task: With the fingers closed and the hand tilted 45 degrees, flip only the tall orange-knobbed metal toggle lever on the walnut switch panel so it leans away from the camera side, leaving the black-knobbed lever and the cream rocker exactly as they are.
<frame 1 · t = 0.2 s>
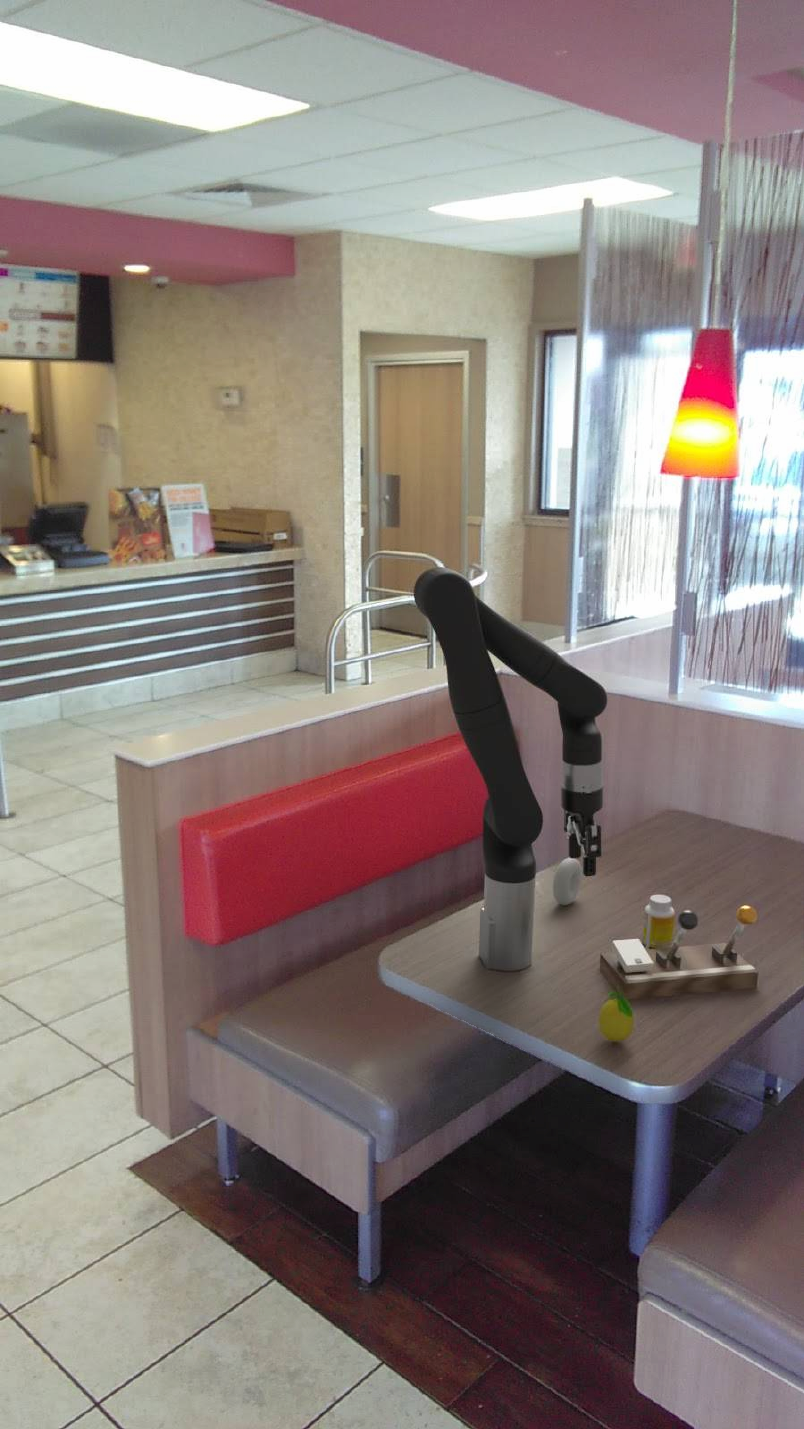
hand: (582, 866, 208), 18 cm above the table, tool pointing down, fingers open, 8 cm apart
supplement bottle: (656, 949, 215), on the table
lever orange: (737, 932, 200), point 10 cm above the table, hinge at -30.0°
rocker: (632, 955, 201), point 5 cm above the table, hinge at 12.0°
panel: (676, 977, 204), on the table
lemon: (615, 1043, 182), on the table
donut: (566, 904, 235), on the table
lever black: (679, 936, 197), point 10 cm above the table, hinge at -30.0°
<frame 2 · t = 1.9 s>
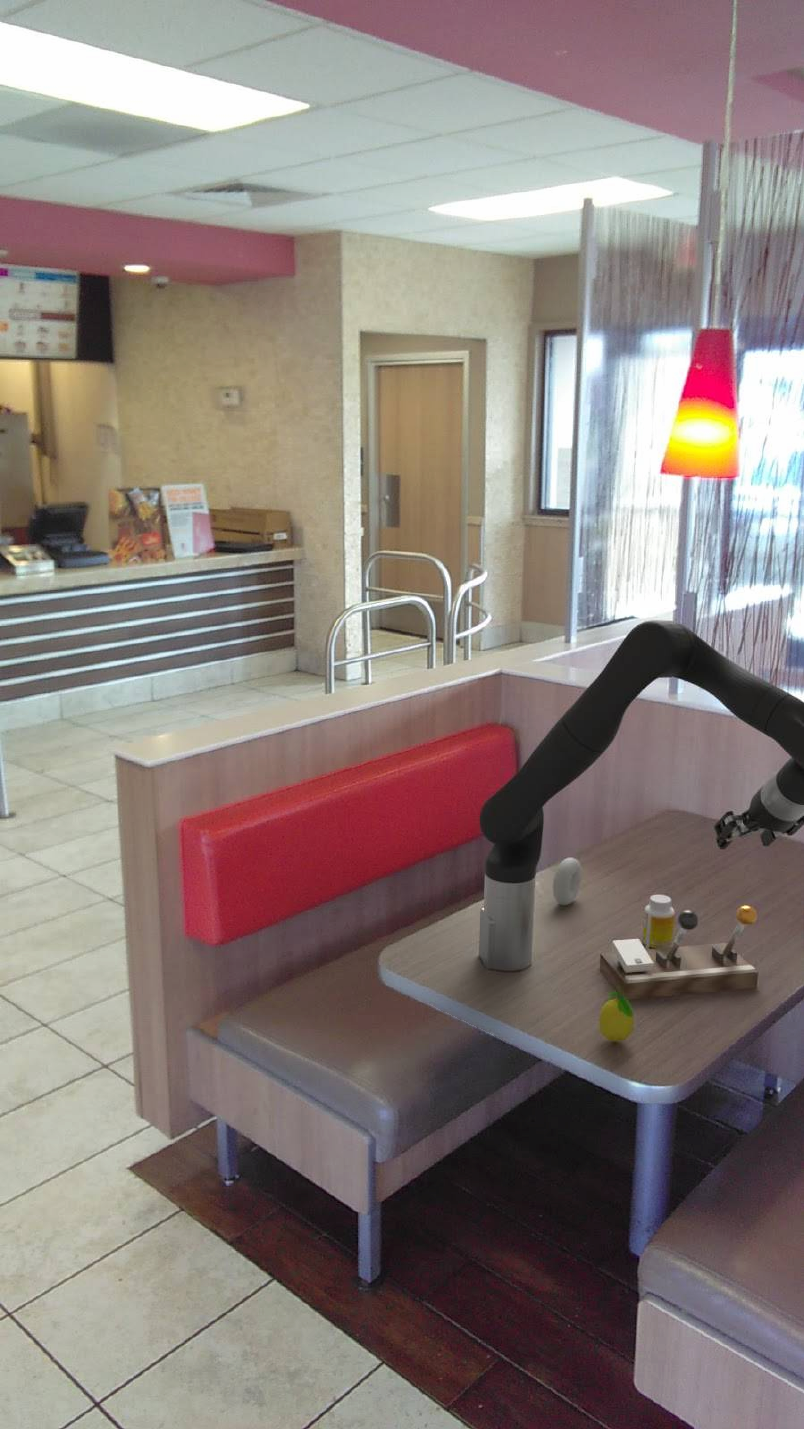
hand: (742, 842, 190), 29 cm above the table, tool tilted 45°, fingers open, 7 cm apart
nothing on the table moved.
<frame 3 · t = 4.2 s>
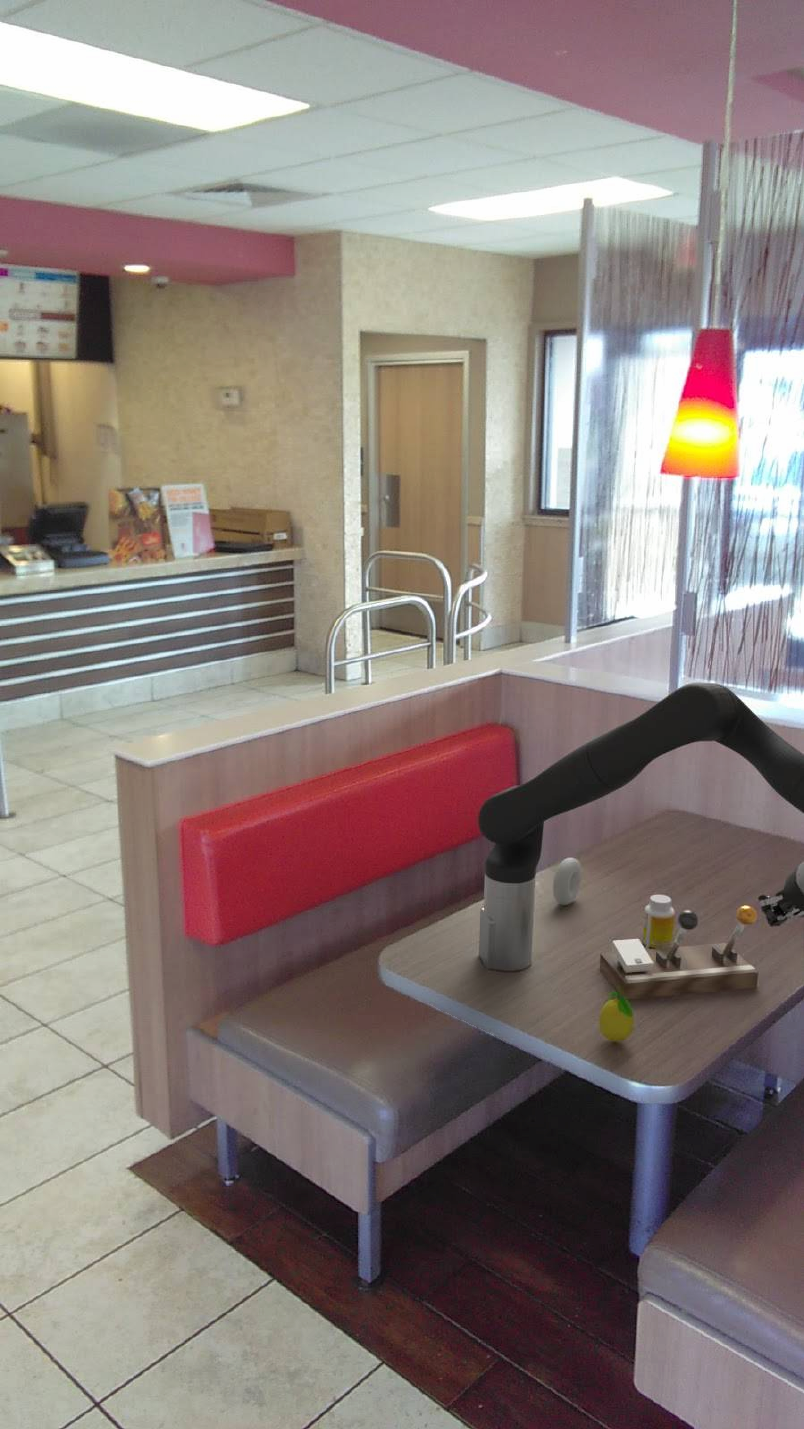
hand: (772, 920, 187), 17 cm above the table, tool tilted 45°, fingers closed
nothing on the table moved.
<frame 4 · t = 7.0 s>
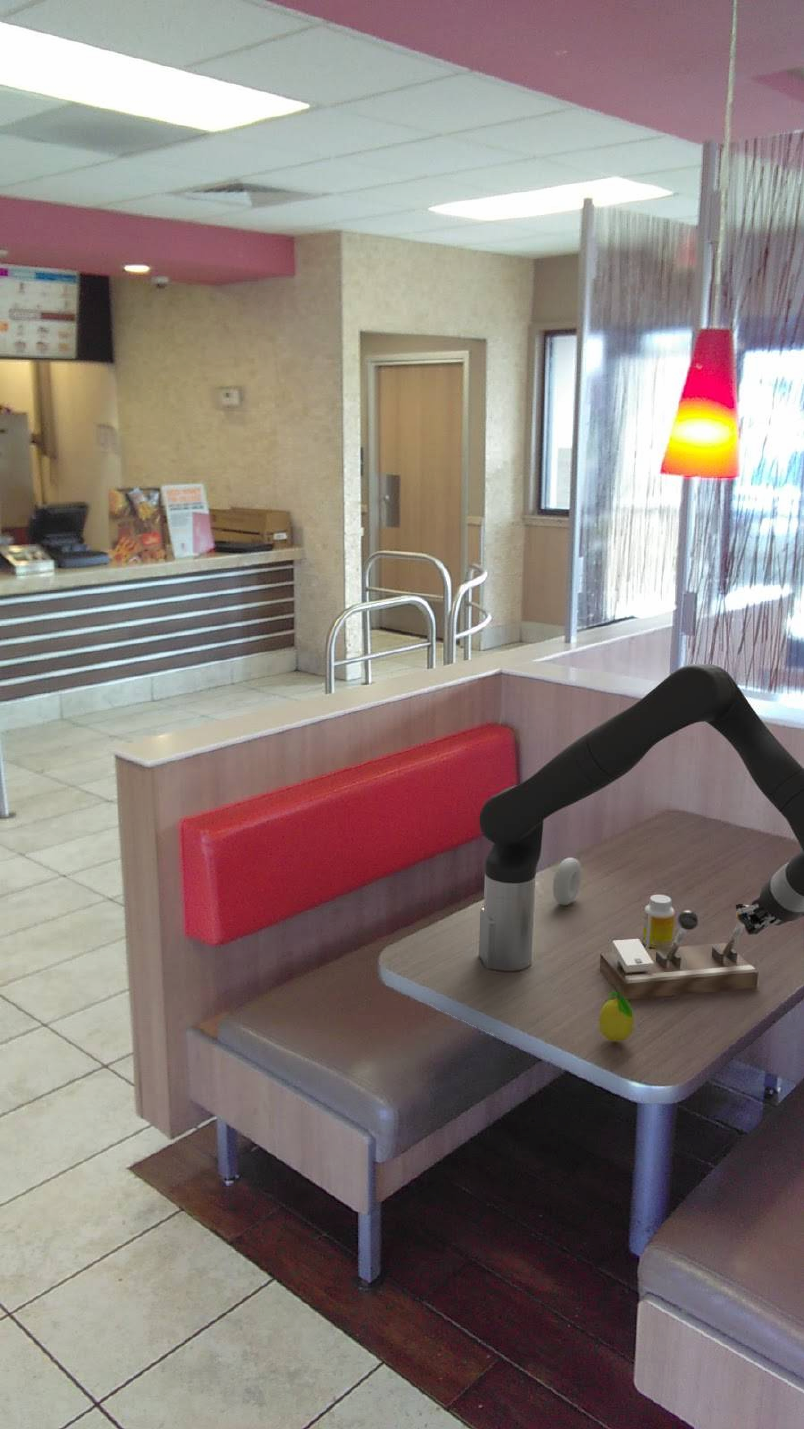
hand: (750, 929, 195), 13 cm above the table, tool tilted 45°, fingers closed
lever orange: (737, 931, 200), point 10 cm above the table, hinge at -29.4°, touching gripper
everything else where it was.
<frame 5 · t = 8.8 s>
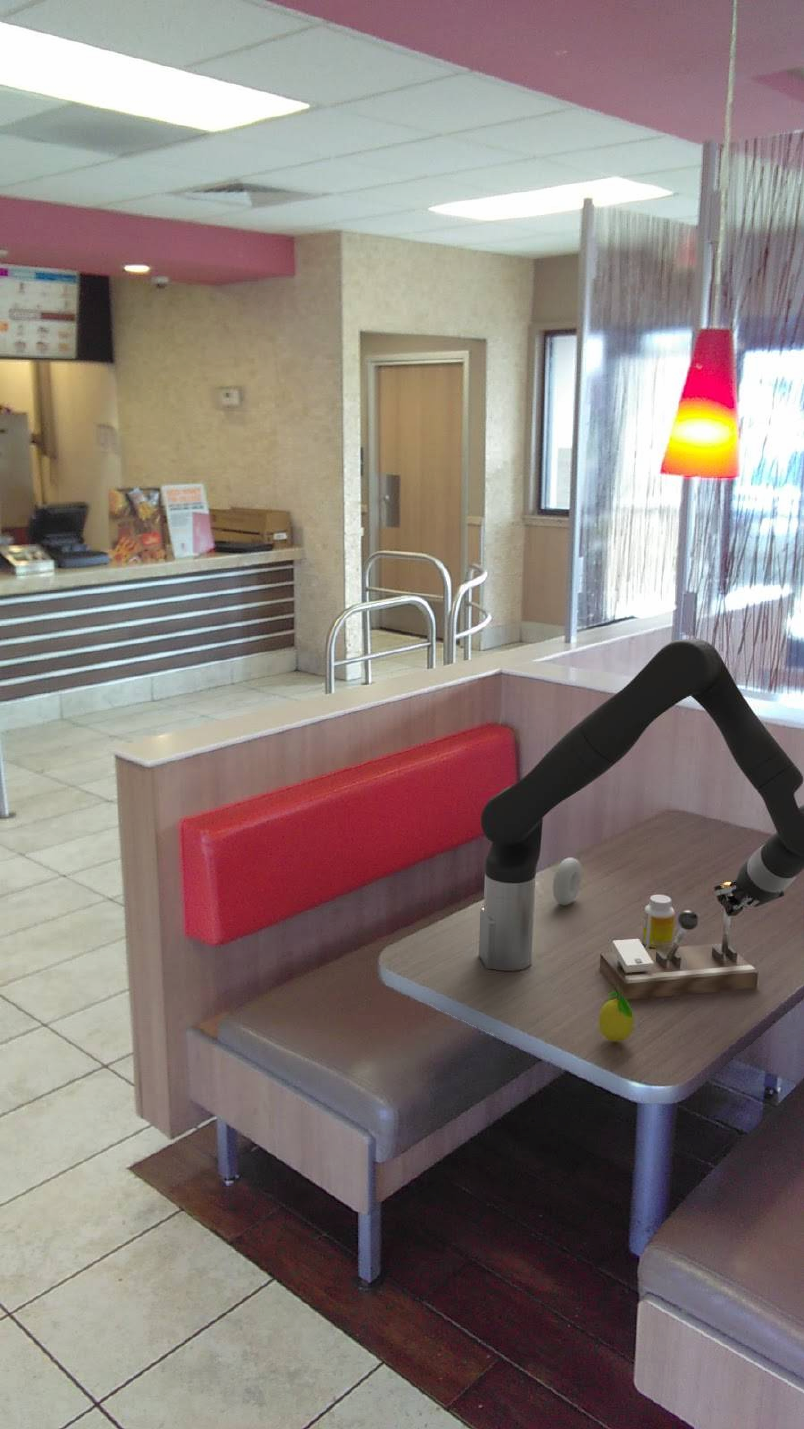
hand: (729, 910, 202), 13 cm above the table, tool tilted 45°, fingers closed
lever orange: (727, 917, 203), point 11 cm above the table, hinge at 2.2°, touching gripper
everything else where it was.
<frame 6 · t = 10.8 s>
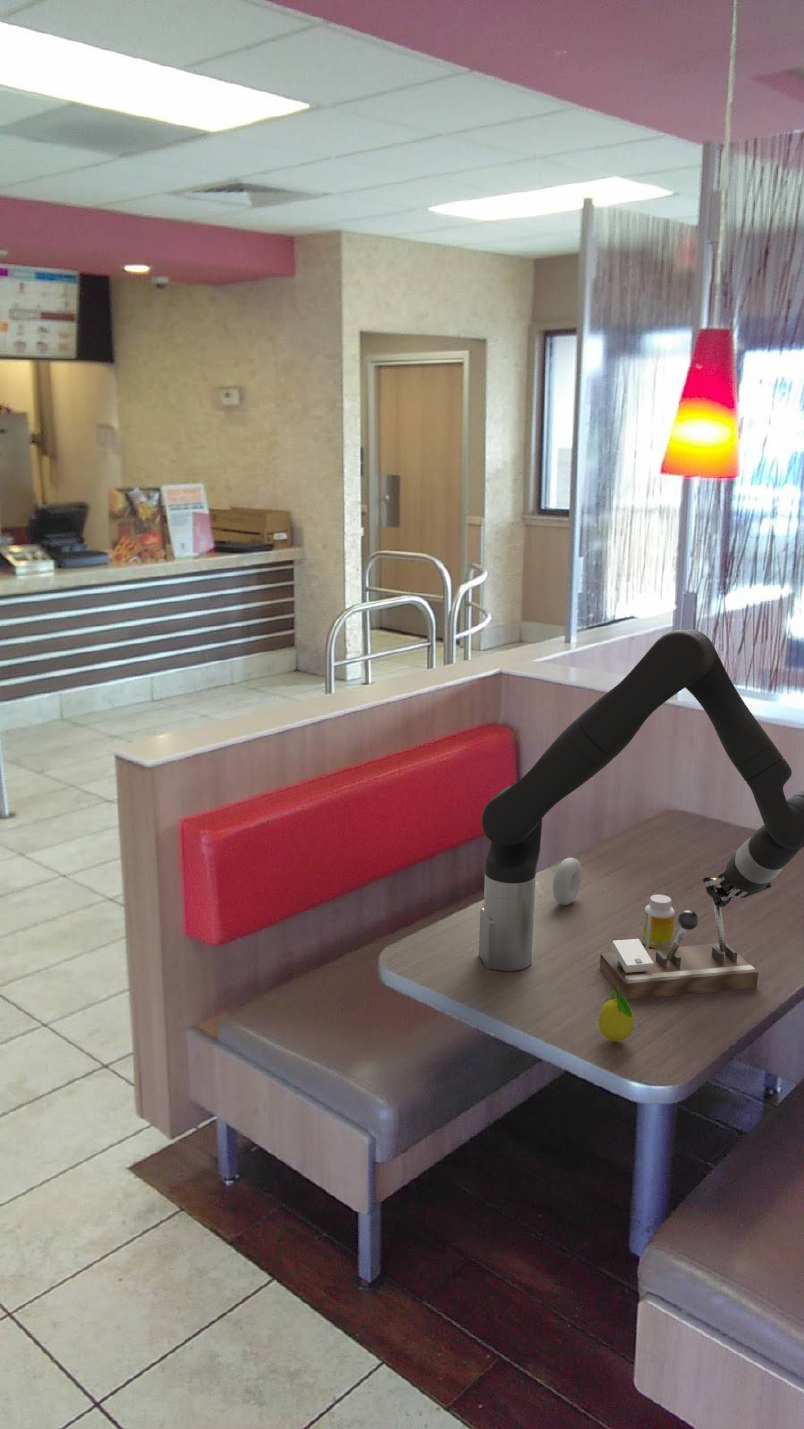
hand: (718, 902, 206), 12 cm above the table, tool tilted 45°, fingers closed
lever orange: (718, 914, 206), point 10 cm above the table, hinge at 27.6°, touching gripper
everything else where it was.
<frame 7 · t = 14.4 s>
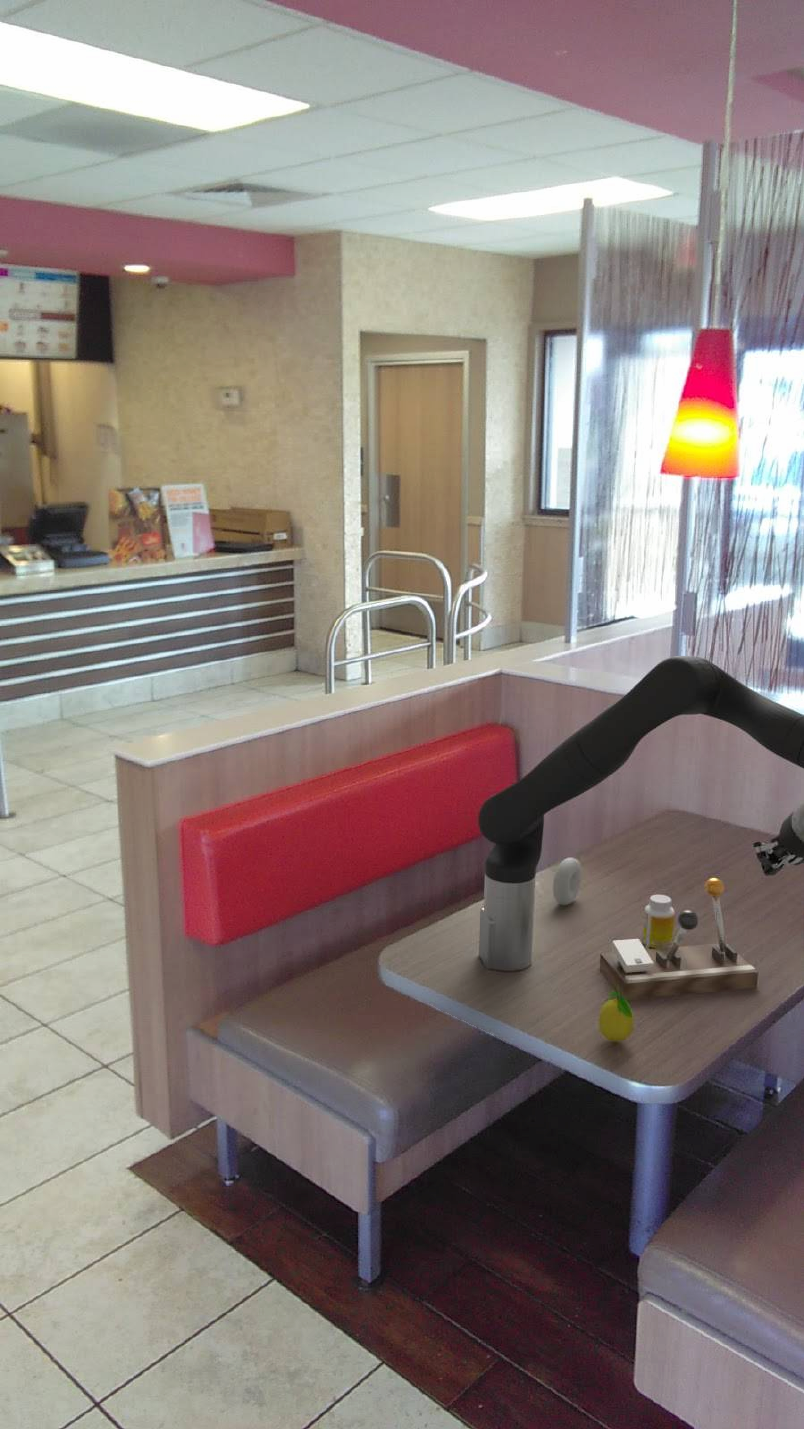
hand: (767, 870, 186), 26 cm above the table, tool tilted 45°, fingers closed
lever orange: (718, 914, 206), point 10 cm above the table, hinge at 28.0°
everything else where it was.
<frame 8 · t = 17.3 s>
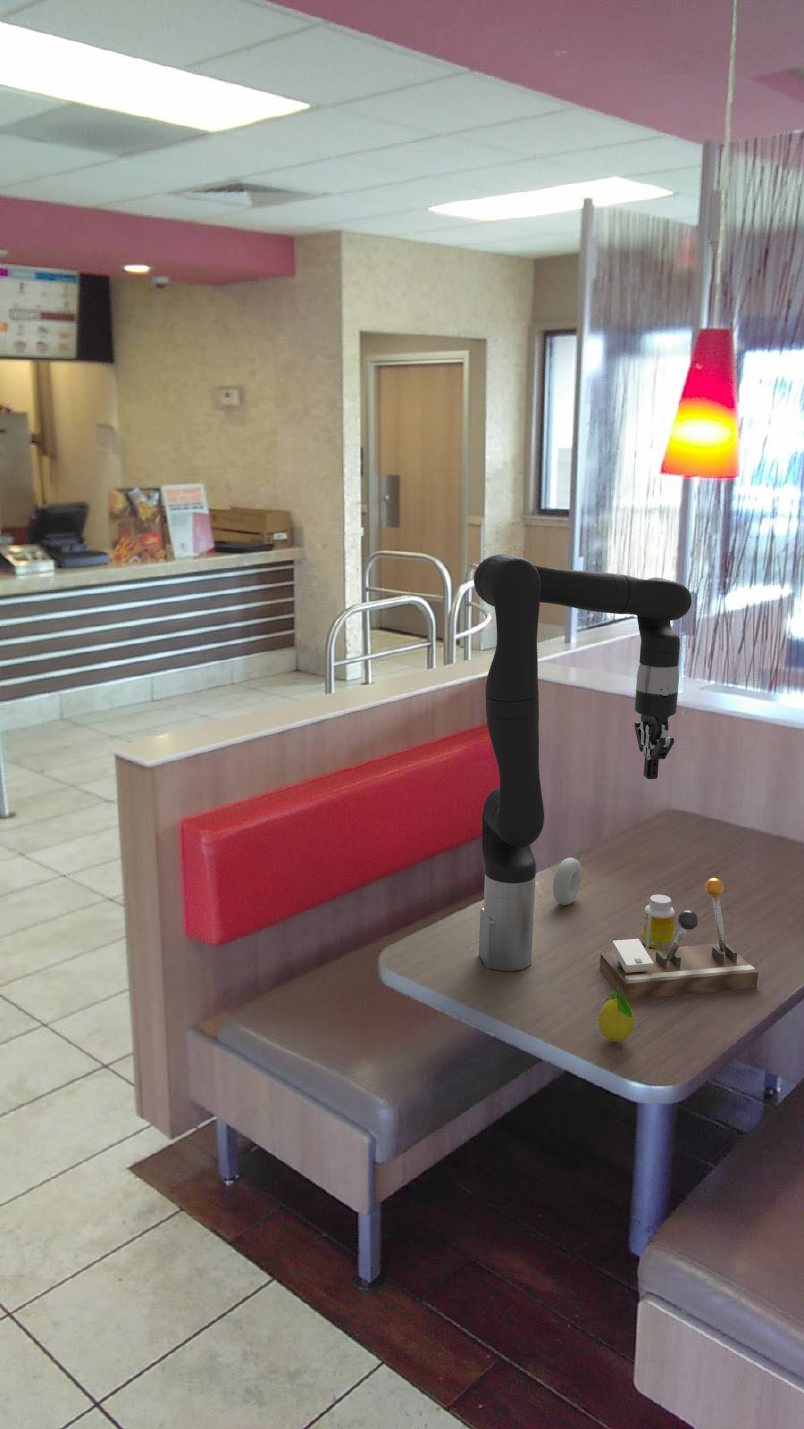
hand: (650, 777, 211), 33 cm above the table, tool pointing down, fingers closed
nothing on the table moved.
at the end: lever orange at +28° (first picture: -30°); lever black at -30° (first picture: -30°); rocker at +12° (first picture: +12°) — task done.
